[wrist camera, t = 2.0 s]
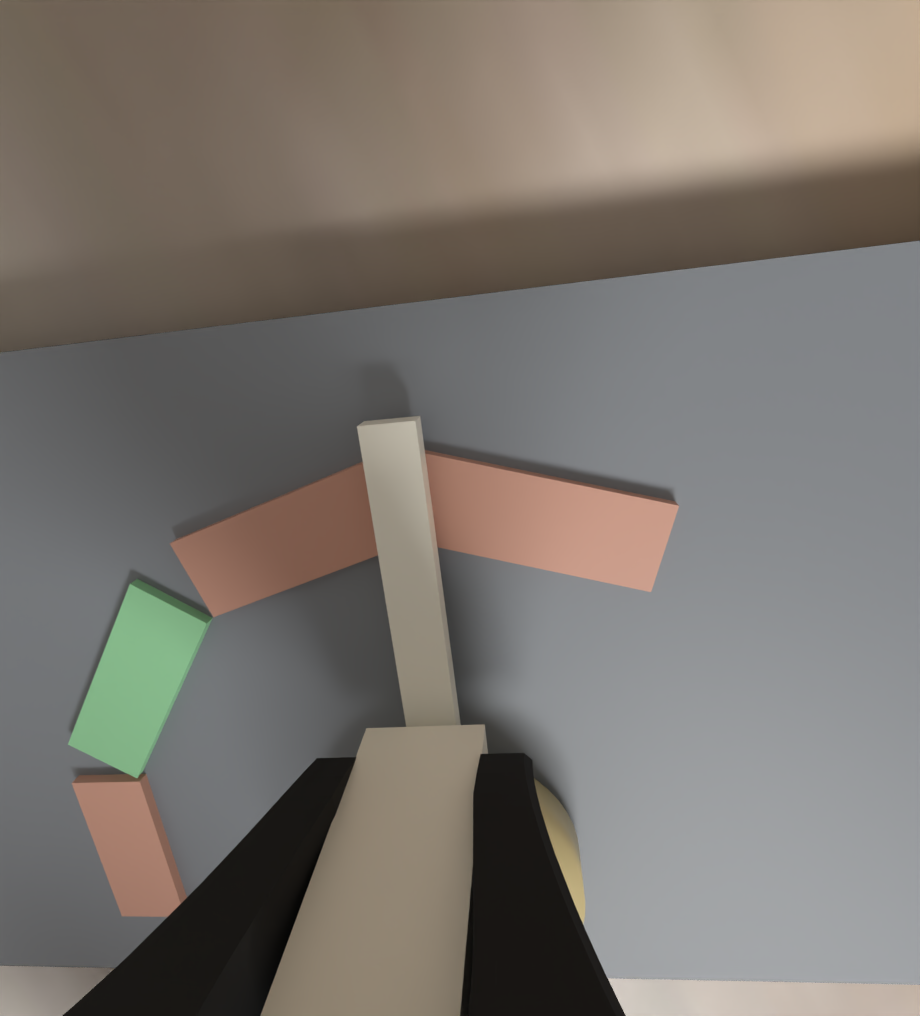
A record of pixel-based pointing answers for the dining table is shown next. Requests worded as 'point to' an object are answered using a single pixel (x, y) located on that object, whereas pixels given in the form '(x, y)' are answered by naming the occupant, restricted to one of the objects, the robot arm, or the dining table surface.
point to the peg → (403, 797)
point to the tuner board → (489, 600)
